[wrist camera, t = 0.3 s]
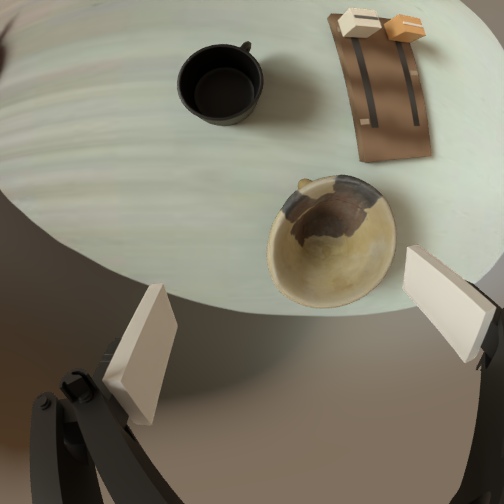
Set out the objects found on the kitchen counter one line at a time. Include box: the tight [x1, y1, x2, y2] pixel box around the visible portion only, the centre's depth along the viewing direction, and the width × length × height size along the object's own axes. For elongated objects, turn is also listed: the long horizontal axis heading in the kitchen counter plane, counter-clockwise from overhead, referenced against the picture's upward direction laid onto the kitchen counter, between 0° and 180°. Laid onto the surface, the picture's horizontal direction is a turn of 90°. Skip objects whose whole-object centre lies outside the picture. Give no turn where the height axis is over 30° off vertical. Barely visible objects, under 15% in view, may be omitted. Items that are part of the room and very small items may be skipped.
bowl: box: [267, 175, 396, 308], centre depth 37 cm, size 18×18×10 cm
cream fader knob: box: [338, 8, 382, 38], centre depth 25 cm, size 3×4×5 cm
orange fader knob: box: [384, 14, 426, 43], centre depth 24 cm, size 3×4×5 cm
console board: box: [327, 14, 431, 162], centre depth 32 cm, size 24×13×2 cm, turn 12°
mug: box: [177, 41, 263, 126], centre depth 29 cm, size 9×12×9 cm
